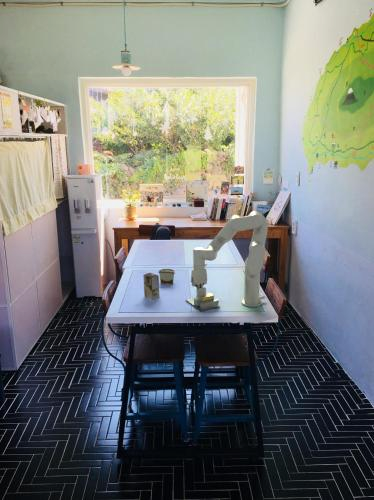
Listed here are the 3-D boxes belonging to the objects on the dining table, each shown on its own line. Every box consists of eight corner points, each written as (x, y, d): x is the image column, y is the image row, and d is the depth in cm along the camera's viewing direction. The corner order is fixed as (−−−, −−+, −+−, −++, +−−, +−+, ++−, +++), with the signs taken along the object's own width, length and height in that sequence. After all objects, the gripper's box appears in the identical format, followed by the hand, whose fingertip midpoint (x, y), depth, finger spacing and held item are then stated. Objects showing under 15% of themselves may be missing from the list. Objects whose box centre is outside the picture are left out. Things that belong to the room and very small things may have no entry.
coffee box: (159, 297, 279) (159, 275, 275) (152, 300, 275) (151, 277, 270) (151, 294, 285) (150, 272, 281) (143, 297, 281) (142, 274, 277)
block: (210, 303, 266) (210, 293, 264) (213, 305, 263) (214, 295, 261) (199, 305, 263) (199, 295, 261) (203, 307, 259) (203, 297, 257)
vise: (204, 296, 279) (204, 290, 278) (219, 307, 262) (219, 299, 261) (185, 300, 273) (185, 293, 272) (200, 311, 256) (200, 304, 255)
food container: (177, 281, 309) (176, 269, 306) (174, 284, 303) (174, 271, 301) (161, 280, 312) (161, 268, 310) (158, 283, 307) (158, 270, 304)
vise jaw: (208, 299, 272) (208, 286, 270) (213, 302, 267) (213, 289, 264) (192, 302, 267) (192, 289, 264) (197, 306, 262) (196, 292, 259)
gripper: (206, 263, 271) (206, 289, 276) (186, 266, 264) (186, 293, 269) (212, 266, 265) (212, 293, 270) (191, 270, 258) (192, 297, 263)
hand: (199, 293), depth 269 cm, fingers closed
